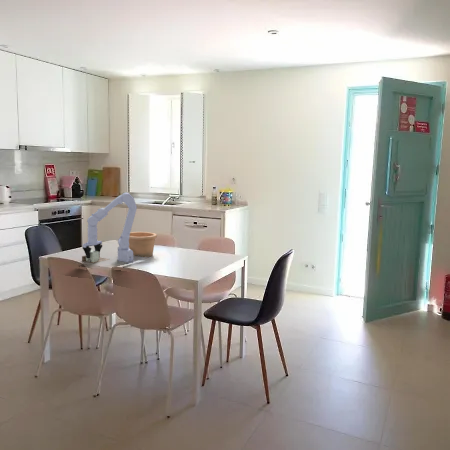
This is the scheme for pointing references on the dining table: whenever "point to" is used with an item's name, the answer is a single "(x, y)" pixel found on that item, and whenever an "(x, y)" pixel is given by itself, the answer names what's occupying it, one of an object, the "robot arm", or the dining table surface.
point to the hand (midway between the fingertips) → (92, 257)
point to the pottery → (142, 243)
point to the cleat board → (93, 262)
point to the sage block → (93, 256)
